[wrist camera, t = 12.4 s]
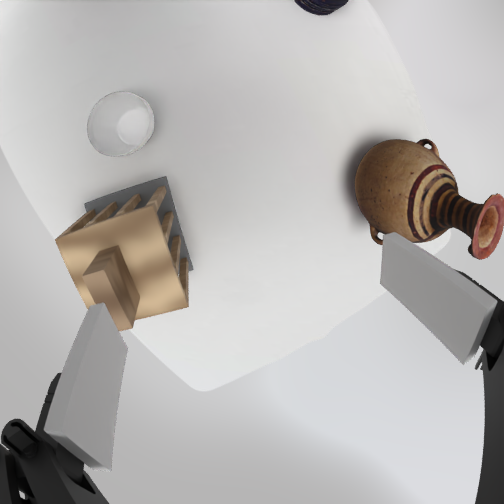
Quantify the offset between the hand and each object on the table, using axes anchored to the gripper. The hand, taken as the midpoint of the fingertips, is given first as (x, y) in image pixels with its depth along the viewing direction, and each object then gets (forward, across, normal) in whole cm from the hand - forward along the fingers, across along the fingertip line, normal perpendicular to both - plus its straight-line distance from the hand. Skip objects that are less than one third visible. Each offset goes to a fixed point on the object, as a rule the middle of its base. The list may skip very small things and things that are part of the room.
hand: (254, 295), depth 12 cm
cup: (+38, -10, +11) cm, 41 cm away
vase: (+38, +33, -7) cm, 51 cm away
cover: (+38, -15, -8) cm, 41 cm away
